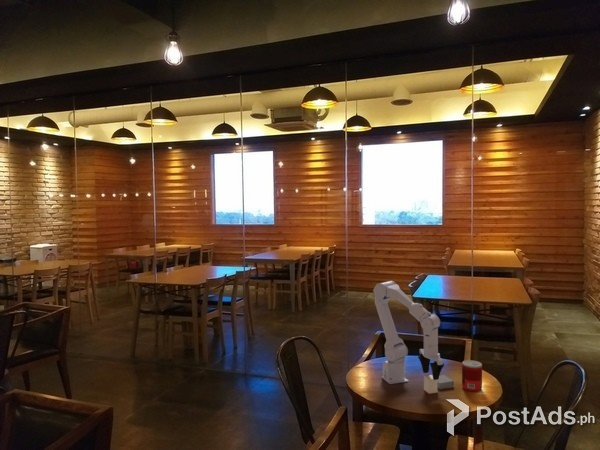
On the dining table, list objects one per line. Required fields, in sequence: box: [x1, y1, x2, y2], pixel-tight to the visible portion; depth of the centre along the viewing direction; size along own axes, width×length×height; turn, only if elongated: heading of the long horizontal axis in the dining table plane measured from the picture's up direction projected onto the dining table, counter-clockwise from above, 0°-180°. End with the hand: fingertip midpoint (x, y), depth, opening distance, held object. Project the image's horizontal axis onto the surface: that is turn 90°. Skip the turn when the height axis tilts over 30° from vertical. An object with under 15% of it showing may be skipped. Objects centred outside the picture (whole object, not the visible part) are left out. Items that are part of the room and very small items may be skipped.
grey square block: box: [437, 374, 455, 390], centre depth 192 cm, size 7×7×3 cm
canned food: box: [461, 359, 483, 393], centre depth 187 cm, size 8×8×11 cm
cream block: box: [423, 374, 438, 394], centre depth 186 cm, size 4×4×6 cm
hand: (430, 375), depth 185 cm, fingers open, 7 cm apart
